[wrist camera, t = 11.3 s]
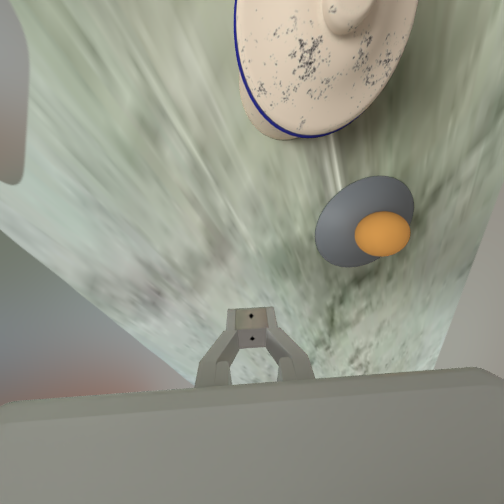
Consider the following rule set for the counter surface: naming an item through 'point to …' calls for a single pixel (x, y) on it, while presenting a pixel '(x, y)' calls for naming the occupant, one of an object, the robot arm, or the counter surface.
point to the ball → (382, 233)
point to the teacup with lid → (316, 60)
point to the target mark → (358, 217)
